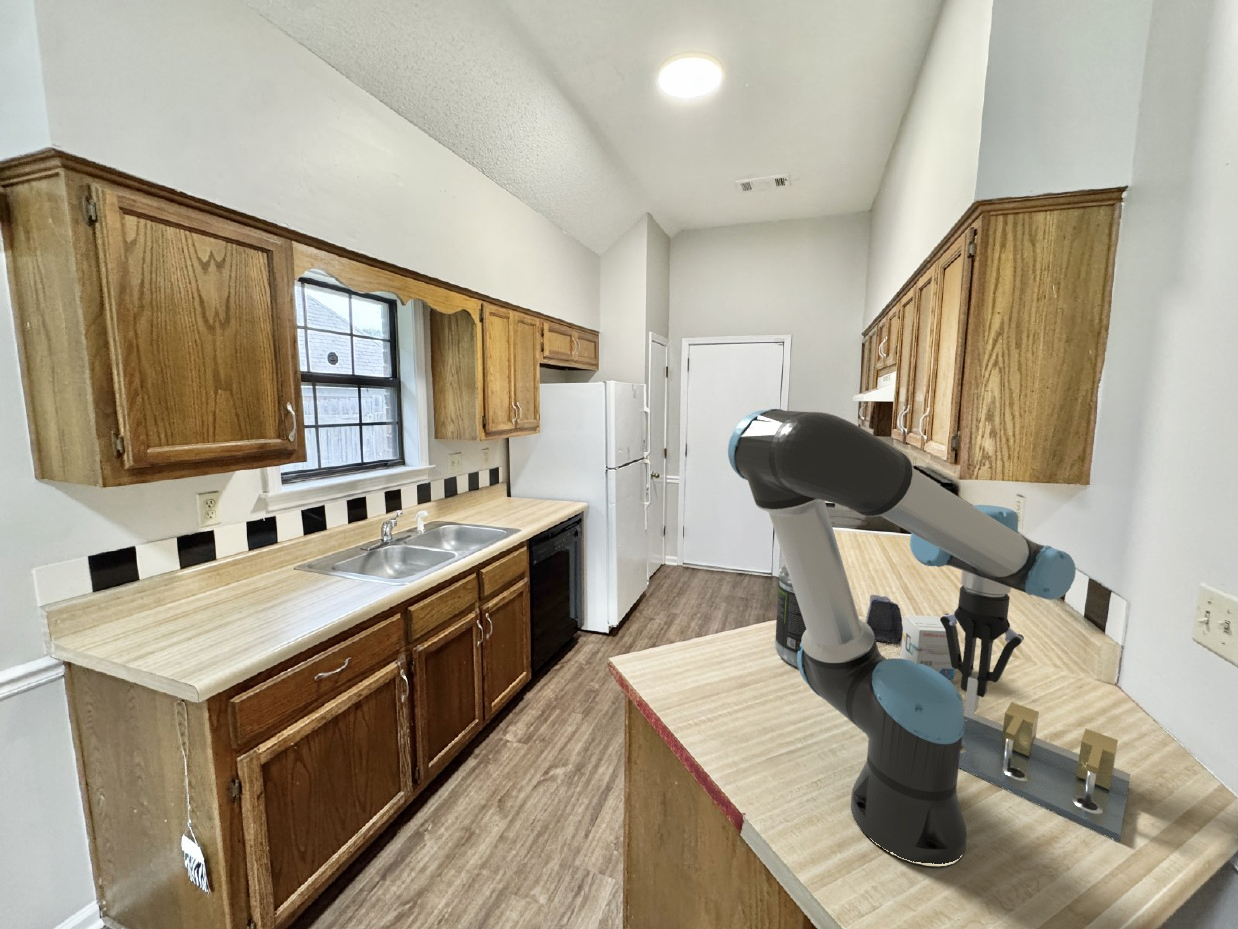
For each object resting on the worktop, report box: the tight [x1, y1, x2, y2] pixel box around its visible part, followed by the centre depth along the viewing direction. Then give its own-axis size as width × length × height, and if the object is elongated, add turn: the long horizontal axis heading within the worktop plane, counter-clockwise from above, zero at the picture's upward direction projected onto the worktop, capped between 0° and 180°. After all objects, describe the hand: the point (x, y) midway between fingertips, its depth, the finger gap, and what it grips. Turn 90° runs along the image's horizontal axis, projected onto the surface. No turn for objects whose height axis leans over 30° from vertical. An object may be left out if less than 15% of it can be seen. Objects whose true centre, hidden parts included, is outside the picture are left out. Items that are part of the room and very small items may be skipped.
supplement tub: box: [774, 564, 806, 668], centre depth 126 cm, size 16×16×26 cm
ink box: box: [900, 614, 959, 680], centre depth 122 cm, size 9×8×12 cm
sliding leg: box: [1001, 701, 1040, 768], centre depth 91 cm, size 12×4×6 cm, turn 132°
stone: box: [864, 594, 903, 645], centre depth 139 cm, size 12×10×10 cm
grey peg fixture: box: [959, 709, 1131, 843], centre depth 90 cm, size 16×26×8 cm, turn 42°
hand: (971, 708), depth 99 cm, fingers closed
